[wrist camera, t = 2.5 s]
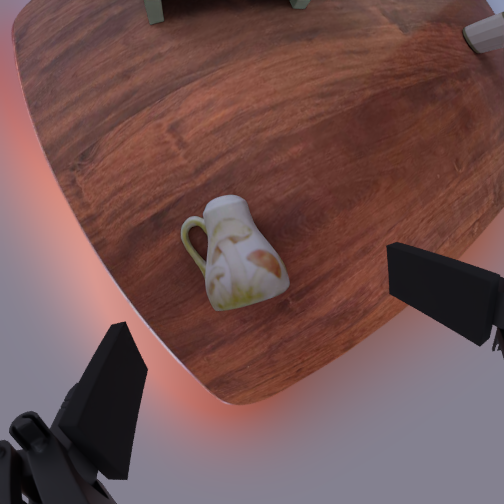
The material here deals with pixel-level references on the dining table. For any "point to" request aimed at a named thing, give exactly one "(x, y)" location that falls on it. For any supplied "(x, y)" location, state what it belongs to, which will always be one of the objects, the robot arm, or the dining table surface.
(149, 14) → the shelf
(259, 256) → the mug
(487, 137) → the dining table surface
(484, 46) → the bottle
